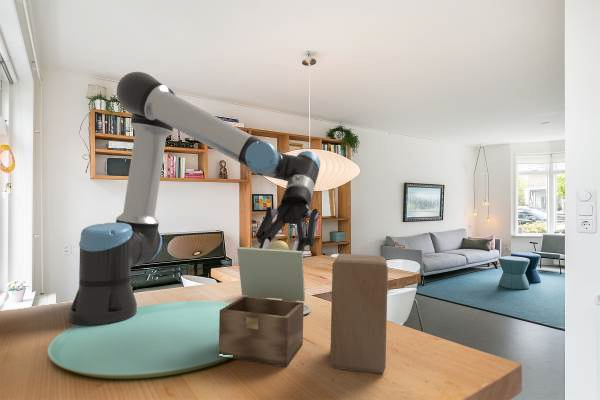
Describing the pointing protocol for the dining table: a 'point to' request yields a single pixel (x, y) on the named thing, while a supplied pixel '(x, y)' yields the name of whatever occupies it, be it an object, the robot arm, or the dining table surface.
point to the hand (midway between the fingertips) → (275, 266)
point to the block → (359, 313)
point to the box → (261, 330)
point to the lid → (272, 272)
